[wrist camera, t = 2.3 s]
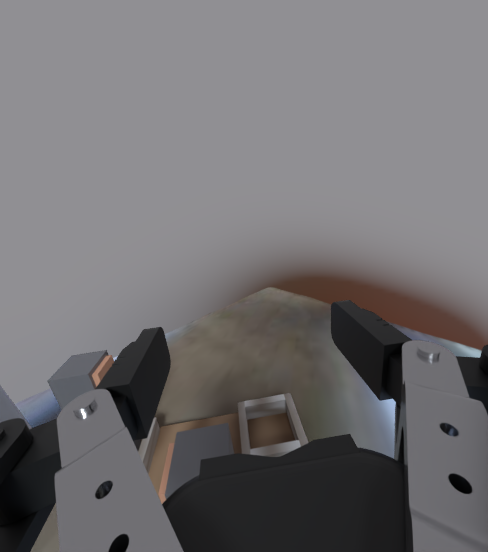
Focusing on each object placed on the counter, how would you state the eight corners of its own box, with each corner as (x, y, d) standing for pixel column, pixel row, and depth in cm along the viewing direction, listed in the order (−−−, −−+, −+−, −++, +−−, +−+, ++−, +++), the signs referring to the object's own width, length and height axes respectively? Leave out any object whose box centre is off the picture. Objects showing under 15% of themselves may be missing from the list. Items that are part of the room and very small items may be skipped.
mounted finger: (146, 445, 32) (111, 349, 27) (136, 477, 28) (93, 373, 23) (113, 451, 32) (71, 355, 27) (98, 484, 28) (47, 381, 23)
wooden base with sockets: (290, 410, 36) (289, 390, 35) (312, 474, 28) (311, 450, 26) (110, 443, 35) (101, 424, 33) (74, 522, 26) (60, 500, 25)
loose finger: (251, 541, 23) (228, 422, 18) (257, 608, 19) (230, 482, 14) (205, 551, 23) (168, 433, 18) (202, 621, 19) (154, 497, 14)
